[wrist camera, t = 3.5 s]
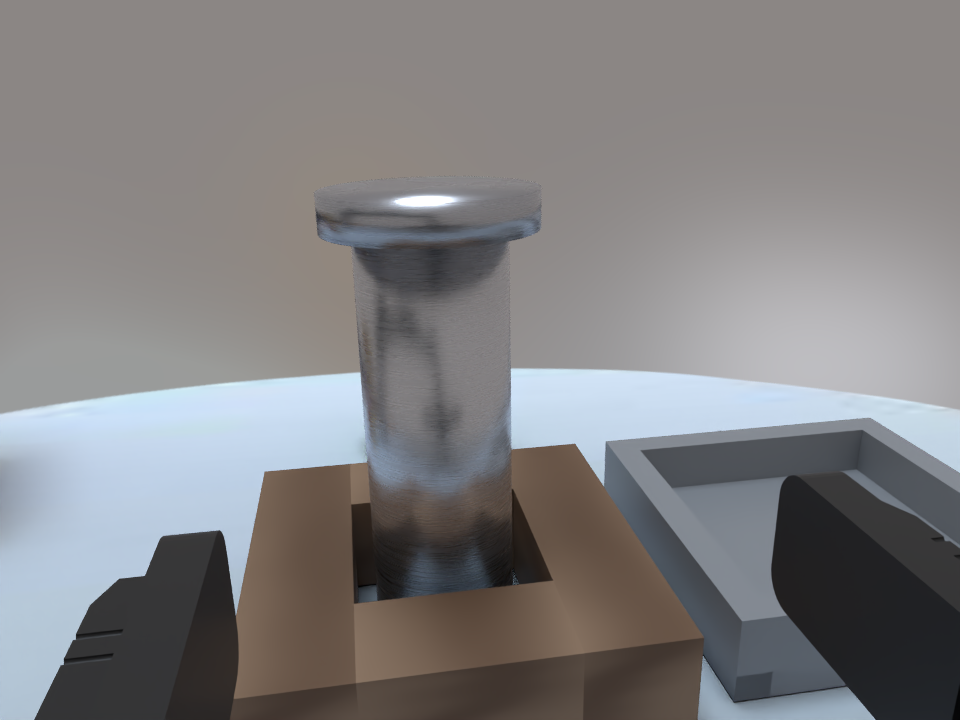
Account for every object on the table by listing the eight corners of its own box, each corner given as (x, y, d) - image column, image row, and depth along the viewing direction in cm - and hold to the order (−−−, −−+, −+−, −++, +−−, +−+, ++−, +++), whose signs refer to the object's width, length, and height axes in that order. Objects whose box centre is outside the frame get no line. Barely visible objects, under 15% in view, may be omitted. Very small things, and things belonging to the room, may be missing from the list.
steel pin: (354, 706, 21) (310, 208, 17) (351, 583, 26) (317, 180, 22) (561, 678, 22) (567, 197, 18) (518, 564, 27) (515, 173, 23)
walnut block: (236, 808, 18) (218, 700, 17) (273, 547, 28) (265, 471, 27) (695, 739, 20) (703, 637, 19) (573, 516, 30) (575, 443, 29)
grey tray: (733, 701, 21) (742, 621, 20) (603, 500, 31) (605, 441, 30) (1100, 649, 22) (1121, 572, 22) (861, 473, 33) (869, 417, 32)
